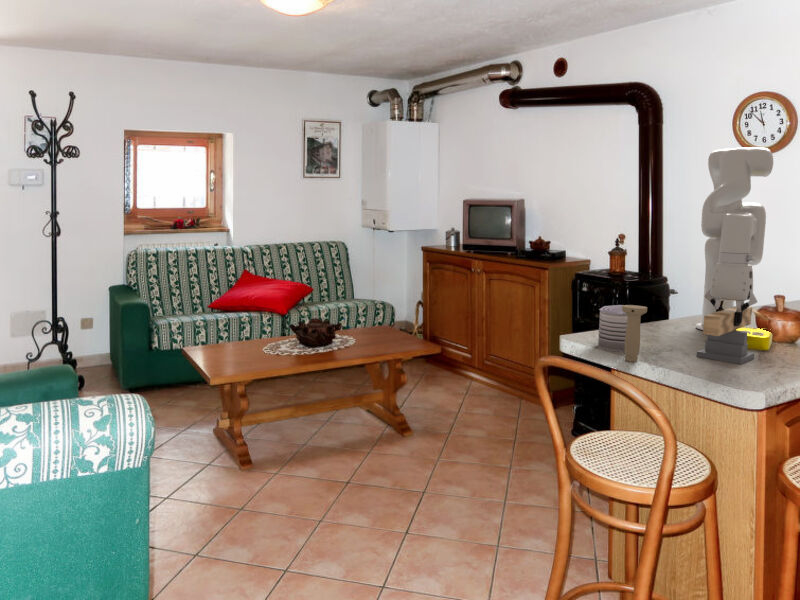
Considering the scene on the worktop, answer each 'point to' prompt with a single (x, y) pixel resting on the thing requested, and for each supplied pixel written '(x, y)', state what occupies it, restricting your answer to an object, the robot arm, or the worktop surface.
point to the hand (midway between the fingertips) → (728, 323)
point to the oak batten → (725, 321)
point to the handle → (633, 331)
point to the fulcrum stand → (727, 348)
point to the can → (612, 328)
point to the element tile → (757, 338)
